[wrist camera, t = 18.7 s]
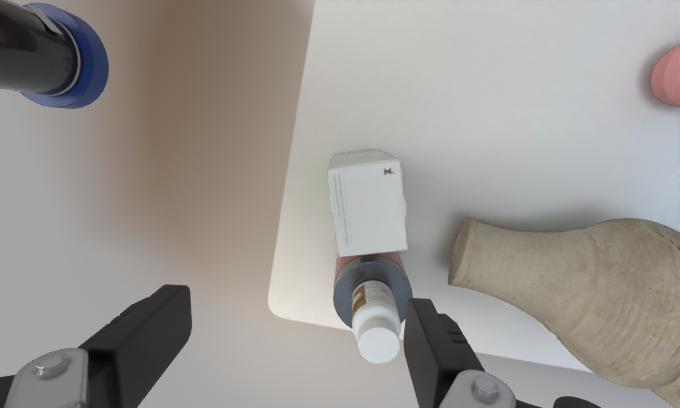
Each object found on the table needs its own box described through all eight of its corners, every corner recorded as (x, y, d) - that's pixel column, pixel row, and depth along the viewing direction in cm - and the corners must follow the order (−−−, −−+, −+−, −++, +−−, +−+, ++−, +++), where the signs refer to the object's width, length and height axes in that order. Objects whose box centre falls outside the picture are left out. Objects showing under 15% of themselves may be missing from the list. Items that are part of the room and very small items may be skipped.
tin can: (336, 285, 45) (331, 332, 34) (338, 228, 43) (334, 259, 32) (395, 288, 45) (409, 336, 34) (399, 231, 43) (416, 263, 32)
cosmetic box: (332, 153, 41) (322, 164, 26) (383, 147, 40) (403, 154, 25) (340, 215, 43) (335, 259, 27) (389, 210, 42) (411, 251, 27)
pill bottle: (351, 279, 33) (351, 322, 25) (393, 279, 32) (406, 322, 25) (351, 317, 34) (352, 369, 26) (393, 317, 33) (405, 369, 26)
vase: (392, 366, 32) (717, 494, 26) (457, 166, 24) (948, 282, 18) (411, 264, 52) (600, 324, 46) (451, 135, 44) (687, 186, 38)
